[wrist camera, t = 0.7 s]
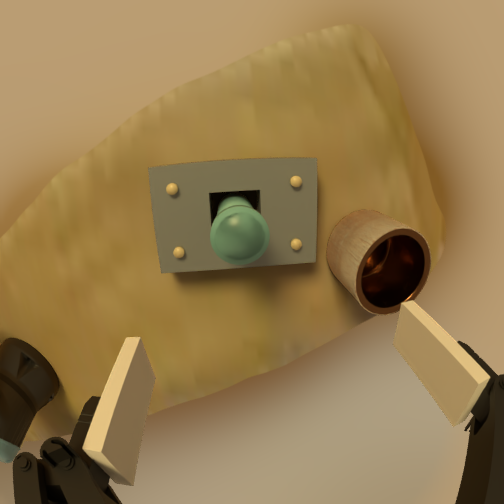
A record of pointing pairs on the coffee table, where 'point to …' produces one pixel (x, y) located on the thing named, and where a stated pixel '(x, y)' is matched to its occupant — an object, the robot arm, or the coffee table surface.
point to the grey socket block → (234, 179)
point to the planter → (378, 260)
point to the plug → (238, 231)
